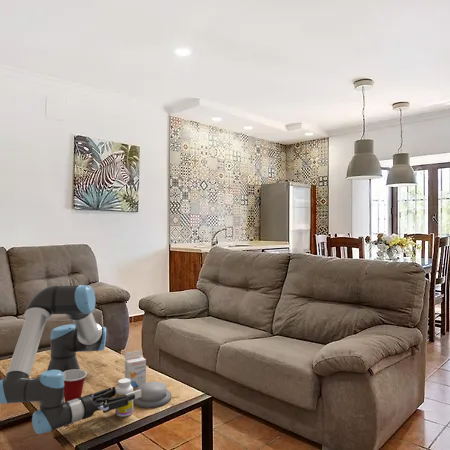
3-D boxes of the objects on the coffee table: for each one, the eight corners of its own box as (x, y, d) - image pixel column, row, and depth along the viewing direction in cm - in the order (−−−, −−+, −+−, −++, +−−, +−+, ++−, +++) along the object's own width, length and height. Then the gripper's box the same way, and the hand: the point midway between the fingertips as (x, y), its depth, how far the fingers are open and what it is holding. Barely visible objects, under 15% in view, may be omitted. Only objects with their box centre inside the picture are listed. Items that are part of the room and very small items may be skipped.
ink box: (128, 388, 179) (128, 356, 179) (124, 385, 183) (124, 353, 183) (146, 384, 184) (146, 352, 184) (142, 381, 188) (142, 349, 188)
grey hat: (126, 406, 162) (126, 393, 162) (141, 390, 178) (141, 378, 178) (163, 409, 159) (163, 396, 159) (176, 392, 175) (176, 381, 175)
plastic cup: (70, 411, 158) (70, 380, 158) (53, 404, 163) (53, 375, 163) (92, 400, 167) (92, 372, 167) (75, 394, 173) (75, 367, 173)
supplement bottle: (117, 409, 159) (117, 377, 159) (134, 409, 159) (134, 376, 159) (114, 417, 152) (114, 384, 152) (131, 417, 153) (131, 383, 153)
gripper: (68, 410, 150) (123, 392, 166) (92, 429, 136) (149, 407, 152) (68, 390, 150) (123, 374, 166) (92, 407, 136) (149, 388, 152)
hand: (135, 390), depth 159 cm, fingers closed on supplement bottle, 7 cm apart
